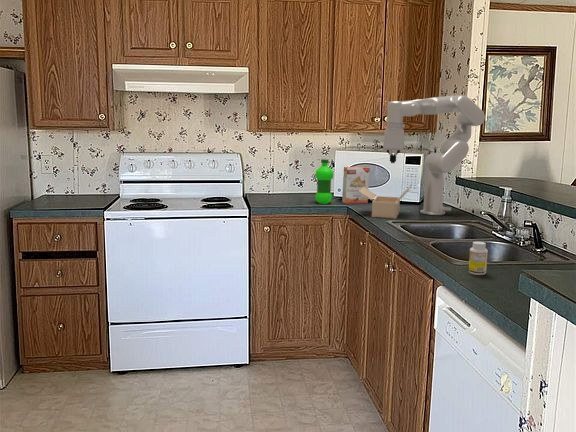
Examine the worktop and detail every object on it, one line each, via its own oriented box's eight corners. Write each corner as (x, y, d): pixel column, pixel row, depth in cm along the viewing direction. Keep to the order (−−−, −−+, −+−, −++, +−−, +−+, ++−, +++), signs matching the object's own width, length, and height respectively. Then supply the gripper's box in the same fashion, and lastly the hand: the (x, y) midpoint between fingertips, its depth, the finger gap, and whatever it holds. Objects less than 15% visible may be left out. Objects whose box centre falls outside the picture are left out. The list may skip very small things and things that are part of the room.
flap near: (400, 196, 306) (400, 196, 306) (397, 201, 289) (398, 201, 289) (410, 185, 304) (411, 185, 304) (408, 189, 286) (409, 189, 286)
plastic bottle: (311, 202, 338) (313, 158, 334) (329, 201, 341) (330, 158, 337) (317, 204, 329) (318, 160, 324) (335, 204, 332) (336, 160, 327)
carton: (399, 212, 309) (400, 197, 308) (395, 219, 289) (396, 202, 288) (376, 210, 312) (377, 196, 311) (371, 217, 292) (372, 201, 291)
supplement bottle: (474, 270, 195) (476, 240, 194) (489, 273, 191) (491, 243, 189) (464, 272, 192) (467, 242, 190) (479, 276, 188) (482, 245, 186)
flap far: (372, 199, 292) (371, 200, 292) (376, 194, 309) (375, 195, 309) (358, 191, 293) (358, 191, 293) (363, 186, 310) (363, 187, 311)
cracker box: (345, 204, 333) (346, 167, 330) (341, 202, 339) (343, 166, 336) (368, 203, 337) (370, 167, 334) (364, 202, 343) (365, 166, 339)
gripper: (410, 126, 294) (408, 163, 297) (380, 125, 298) (378, 162, 301) (409, 126, 287) (407, 164, 290) (378, 126, 291) (377, 163, 294)
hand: (392, 163), depth 295 cm, fingers closed
